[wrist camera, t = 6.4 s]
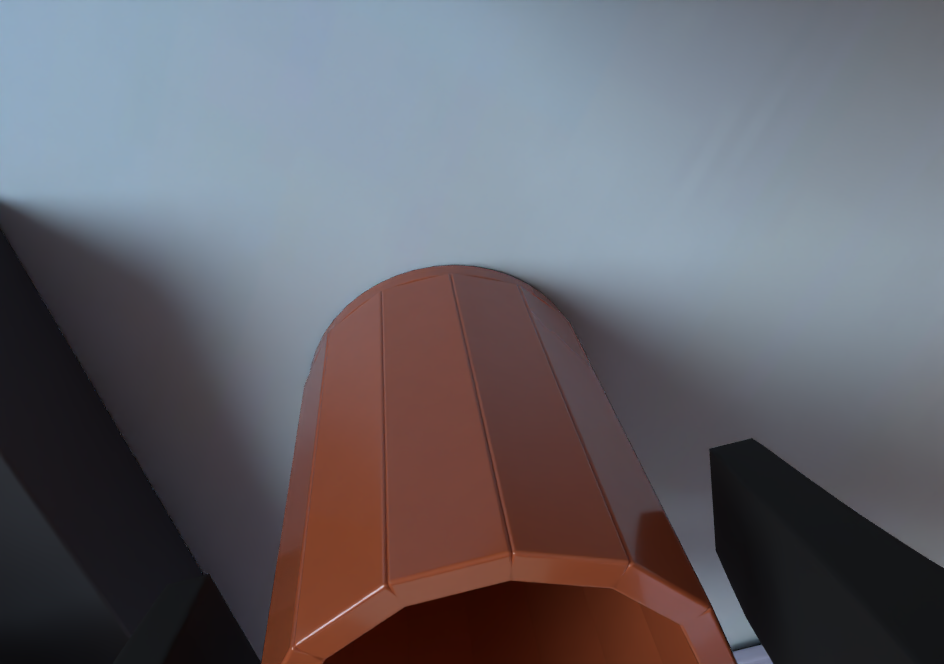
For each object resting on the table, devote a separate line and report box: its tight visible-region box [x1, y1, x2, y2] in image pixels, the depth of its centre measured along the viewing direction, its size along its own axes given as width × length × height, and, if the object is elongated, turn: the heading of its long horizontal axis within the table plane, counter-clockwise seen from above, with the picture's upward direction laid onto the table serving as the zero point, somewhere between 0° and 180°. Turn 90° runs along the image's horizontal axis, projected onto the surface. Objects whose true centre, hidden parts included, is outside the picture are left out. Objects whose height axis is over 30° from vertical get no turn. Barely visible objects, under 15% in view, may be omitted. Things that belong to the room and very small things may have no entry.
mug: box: [261, 265, 738, 664], centre depth 12 cm, size 7×6×7 cm
